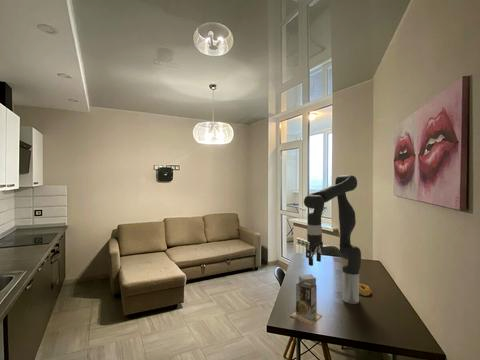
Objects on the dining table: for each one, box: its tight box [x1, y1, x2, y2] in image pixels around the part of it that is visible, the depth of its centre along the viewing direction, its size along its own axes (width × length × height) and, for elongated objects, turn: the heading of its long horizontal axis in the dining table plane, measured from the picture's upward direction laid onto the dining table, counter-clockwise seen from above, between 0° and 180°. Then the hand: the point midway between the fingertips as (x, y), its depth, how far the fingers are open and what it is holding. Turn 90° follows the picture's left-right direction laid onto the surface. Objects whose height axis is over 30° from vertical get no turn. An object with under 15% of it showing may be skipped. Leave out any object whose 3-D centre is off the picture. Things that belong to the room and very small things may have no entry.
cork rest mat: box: [289, 311, 323, 326], centre depth 136 cm, size 12×12×1 cm
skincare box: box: [298, 273, 317, 285], centre depth 151 cm, size 8×7×16 cm
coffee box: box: [295, 281, 318, 320], centre depth 136 cm, size 9×6×16 cm
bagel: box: [359, 282, 372, 297], centre depth 166 cm, size 10×11×5 cm
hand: (314, 263), depth 137 cm, fingers open, 8 cm apart
